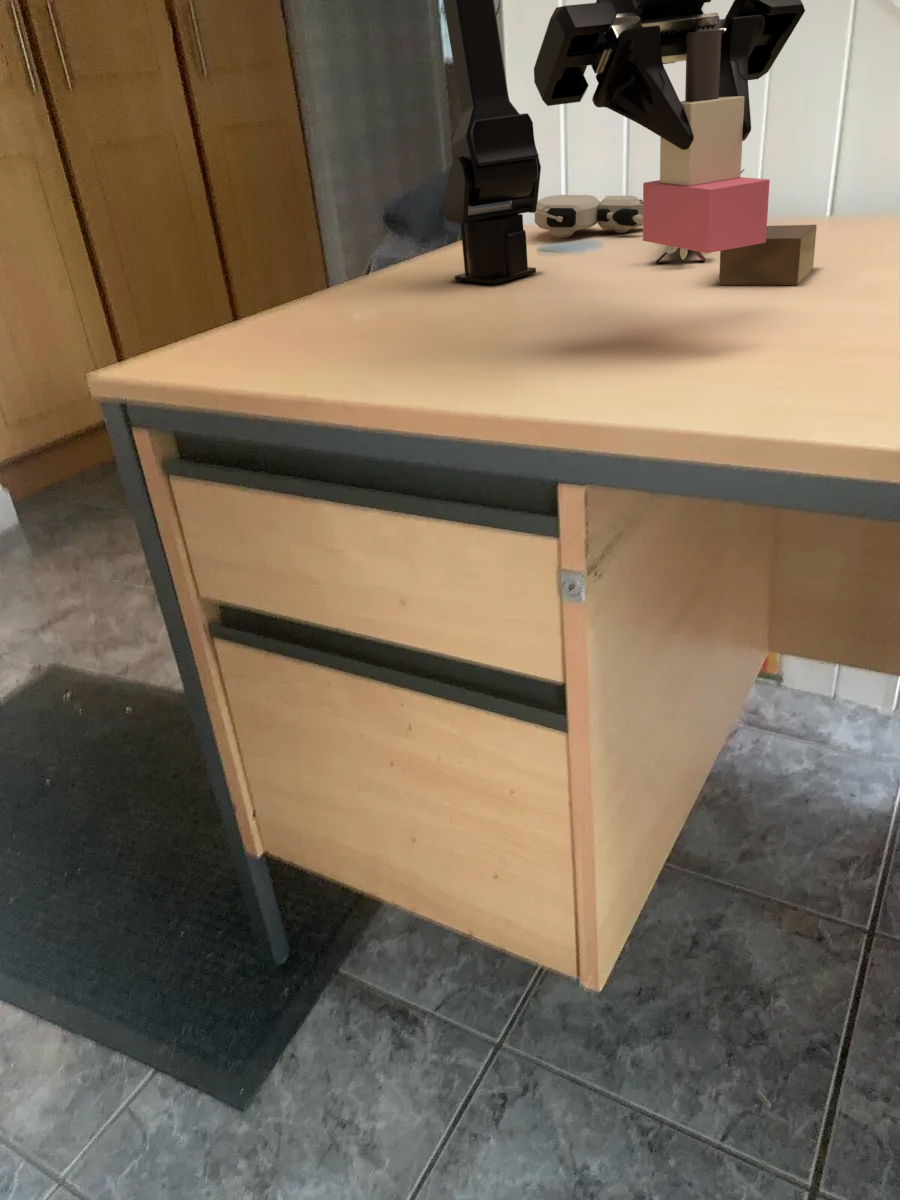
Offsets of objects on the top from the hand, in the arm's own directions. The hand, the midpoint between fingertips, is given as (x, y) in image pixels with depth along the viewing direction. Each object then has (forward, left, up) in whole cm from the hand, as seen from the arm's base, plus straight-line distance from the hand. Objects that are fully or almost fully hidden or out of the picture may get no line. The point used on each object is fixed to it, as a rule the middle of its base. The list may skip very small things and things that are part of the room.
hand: (717, 140), depth 63 cm
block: (-9, +23, -14) cm, 28 cm away
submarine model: (-26, +38, -14) cm, 48 cm away
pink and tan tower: (-1, 0, -7) cm, 7 cm away
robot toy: (-44, +39, -14) cm, 61 cm away
